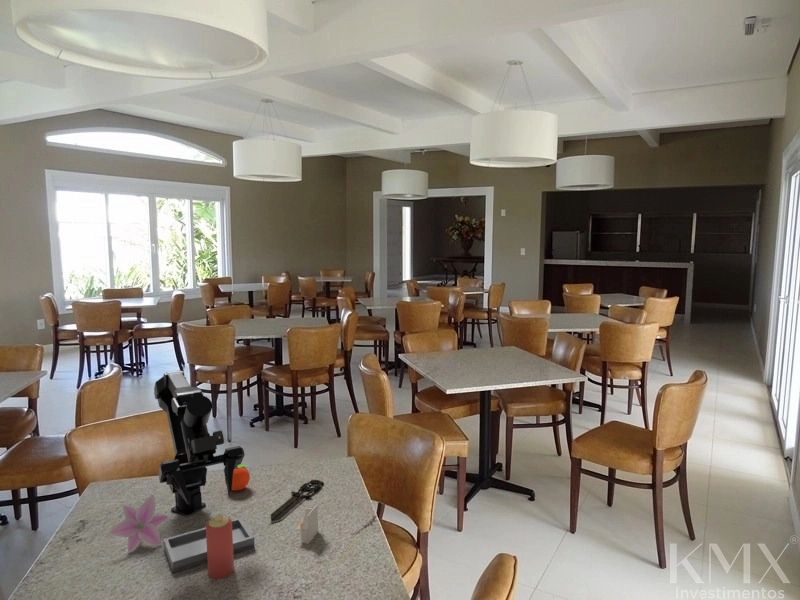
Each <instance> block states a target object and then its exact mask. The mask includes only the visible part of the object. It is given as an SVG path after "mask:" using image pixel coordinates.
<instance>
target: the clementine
mask: <svg viewBox="0 0 800 600" xmlns="http://www.w3.org/2000/svg"><path fill="white" fill-rule="evenodd" d="M246 467H249V468H250V469H251V470H252V467H250V466H249V465H246V464H240V465H238V466H237V468H236V469H234V471H233V479H232V490H231V491H234V492H235V491H237V492H238V491H242V490H243V489H245V488H246V487H247V485H248V484H249V483H250V480H251V479H250V478H251V477H250V472H249V470H248V469H247V468H246ZM224 481H225V484H226V479H225V478H224Z"/></svg>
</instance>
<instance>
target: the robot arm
mask: <svg viewBox="0 0 800 600" xmlns="http://www.w3.org/2000/svg"><path fill="white" fill-rule="evenodd" d="M153 391H154V393H153V394H154V399H155V400H157V402H158V407H159V408H160V409H162V410H163V411H164V412H166V416H167V421H168V422H167V423H168V426H169V427H168V428H169V430H170V431H169V432H170V436H171V441H172V445H173V451H174V458H173V459H172V460H171V459H170V460H166V461H163V462H161V463H160V465H159V469H158V480H159V483H161V484H163V483H166V485H167V486H169V489H170V491H171V493H172V494H174V497H175V506H173V507H171V508H170V510H171V511H172V512H175V513H178V514H180V515H184V516H189V515H191V514H193V513H195V512H197V511H199V510H200V509H203V507H206V506H207V504H206V502H202V498H203V497H202V492H201V487H204V486H206V483H207V473H208V468H207V467H210V466H215V465H219V464H223V466H224V469H223V473H224V480H225V479H226V483H225V485H226V489H227V492H228V494H232V491H233V490H232V479H233V471H234V469H236V468H237V466H239V465H242V463H243V460H244V457H245V455H246V454H245V450H244V449H243V447H242V446H241V445H237V446H232V447H227V448H225V450H224V453H223V454H219V455H216V452H217V450H218V446H220V445H221V446H222V445H223V444H225V438H224V434H223V430H222V429H221V430H215V431H213V432H212V435H211V434H210V432H209V430H208V425H207V424H208V423H209V419H210V416H211V415H212V414H211V413H212V410H213V402H212V400H211V399H210V398H209V397H207V395H206V394H205V393H204V392H203V391H202V390H201V389H200V388H198V387H195V386H191V385H190V383H189V382H188V380H187V377H186V376H185V372H184V370H180V369H179V370H173V371H172V370H171V371H166V372H164V373H163V376H162V377H161V378H159V379H158V380H156V381H155V383H154V388H153Z"/></svg>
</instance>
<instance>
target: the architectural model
mask: <svg viewBox="0 0 800 600" xmlns="http://www.w3.org/2000/svg"><path fill="white" fill-rule="evenodd" d="M318 511H319V510H318V504H316V505H315V506H313V507H312V508H310V507H306V508H305V512H304V515H303V519H302V520H301V522H300V523H299V524H298V525H297V527H295V528H294V529H295V531H298V532H299V531H300V535H301V537H300V540H301V541H300V543H301V544H306V545H307V544H310V543H311V542H312V540H313V539H314V538H315V536H316V535H317V534H318V532H319V516H318V515H319V513H318Z"/></svg>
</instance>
